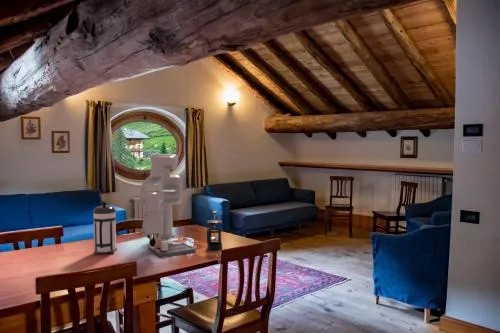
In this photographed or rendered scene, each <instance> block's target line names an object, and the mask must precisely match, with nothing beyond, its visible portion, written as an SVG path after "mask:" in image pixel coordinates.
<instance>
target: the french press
mask: <svg viewBox="0 0 500 333" xmlns="http://www.w3.org/2000/svg"><path fill="white" fill-rule="evenodd" d="M211 213H212V214H213V216H214V218H213V219H212V220H211V219H210V220H207V226H209V227H208V228H206V243H207V246H206V247H207V248H206V250H207V251H210V252H215V251H216V252H217V251H221V250H220V249H222V250H223V243H222V239H223V237H222V232H223V229H222V228H221V227H216V225H222V223H223V221H222V220H219V219H216V213H218V211H216V210H212V211H211ZM212 234H214V236H212ZM216 234H217V236H216Z"/></svg>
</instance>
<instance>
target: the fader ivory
mask: <svg viewBox="0 0 500 333" xmlns="http://www.w3.org/2000/svg"><path fill="white" fill-rule="evenodd" d="M168 244H169V241H168V240H165V239H164V240H163V241H161V250H162V251H167V250H168Z"/></svg>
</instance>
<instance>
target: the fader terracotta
mask: <svg viewBox="0 0 500 333" xmlns="http://www.w3.org/2000/svg"><path fill="white" fill-rule="evenodd" d="M161 241H164V238H159V237H157V238H156V244H155V246H156V247H157V248H161Z"/></svg>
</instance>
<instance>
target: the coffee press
mask: <svg viewBox="0 0 500 333" xmlns="http://www.w3.org/2000/svg"><path fill="white" fill-rule="evenodd" d="M101 204H102V205H99V206H96V207H94V209H93V211H92V213H93V219H92V220H93V243H94V244H93V245H94V246H93V247H94V251H93V255H95V256H98V254H99V253H109V254H110V255H111V256H112V255H114V254H115V252H114V251H117V250H118V249H117V238H116V236H117V234H116V232H117V231H116V228H117V227H116V226H117V225H116V220H117V217H116V211H117V209H116V208H115V207H114V206H112V205H107V202H106V201H103V202H102V203H101Z"/></svg>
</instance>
